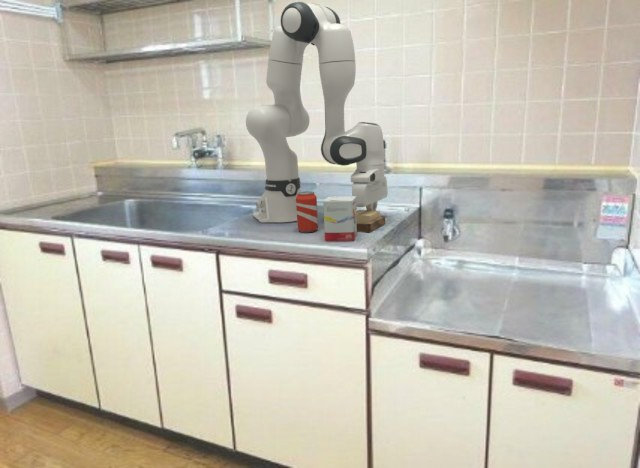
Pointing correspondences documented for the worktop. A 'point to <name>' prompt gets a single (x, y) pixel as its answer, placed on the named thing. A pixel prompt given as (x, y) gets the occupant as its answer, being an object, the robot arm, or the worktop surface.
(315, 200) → the beverage can
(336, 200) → the ink box
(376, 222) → the brown u-shaped frame
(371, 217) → the carton
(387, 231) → the worktop surface
